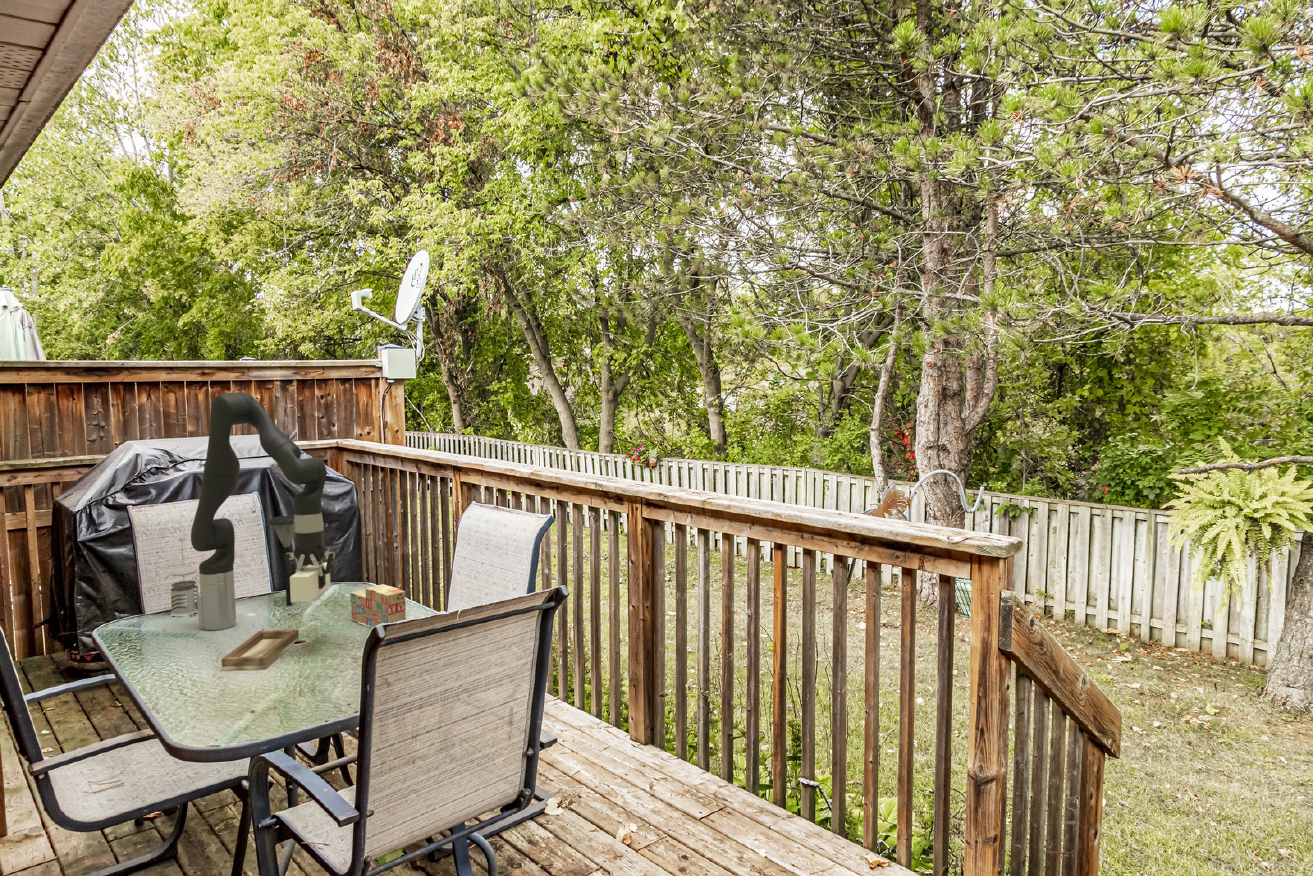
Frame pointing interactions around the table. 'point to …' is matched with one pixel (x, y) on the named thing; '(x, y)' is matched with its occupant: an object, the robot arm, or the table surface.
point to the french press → (184, 590)
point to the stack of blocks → (378, 605)
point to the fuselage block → (306, 584)
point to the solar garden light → (284, 543)
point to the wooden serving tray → (260, 650)
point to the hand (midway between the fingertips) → (311, 588)
